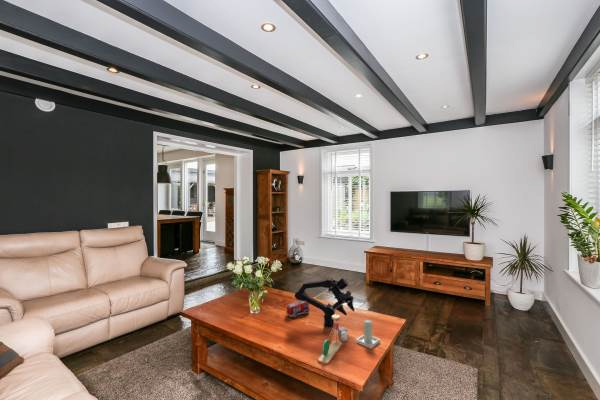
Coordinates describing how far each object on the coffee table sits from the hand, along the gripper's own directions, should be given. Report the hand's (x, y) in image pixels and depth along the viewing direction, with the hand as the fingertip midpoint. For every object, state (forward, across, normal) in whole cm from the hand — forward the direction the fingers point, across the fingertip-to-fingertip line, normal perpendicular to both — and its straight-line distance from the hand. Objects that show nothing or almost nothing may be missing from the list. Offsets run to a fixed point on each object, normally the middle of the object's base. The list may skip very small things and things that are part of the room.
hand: (350, 313), depth 199 cm
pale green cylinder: (+20, -3, -2) cm, 21 cm away
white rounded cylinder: (+11, -10, +8) cm, 17 cm away
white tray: (+21, -3, -2) cm, 21 cm away
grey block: (+8, -6, +11) cm, 15 cm away
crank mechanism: (+14, -29, +6) cm, 33 cm away
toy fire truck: (-24, -5, +43) cm, 50 cm away
